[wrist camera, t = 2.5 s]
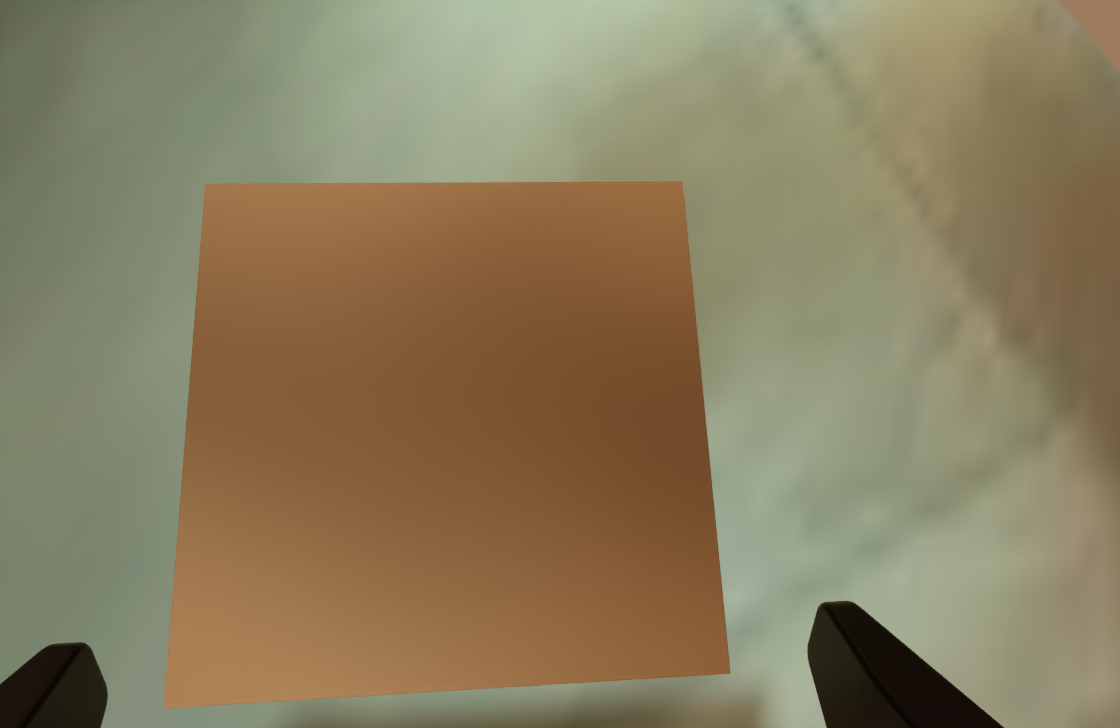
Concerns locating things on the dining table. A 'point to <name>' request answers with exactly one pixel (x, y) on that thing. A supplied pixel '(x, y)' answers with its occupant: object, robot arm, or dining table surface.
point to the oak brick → (442, 444)
